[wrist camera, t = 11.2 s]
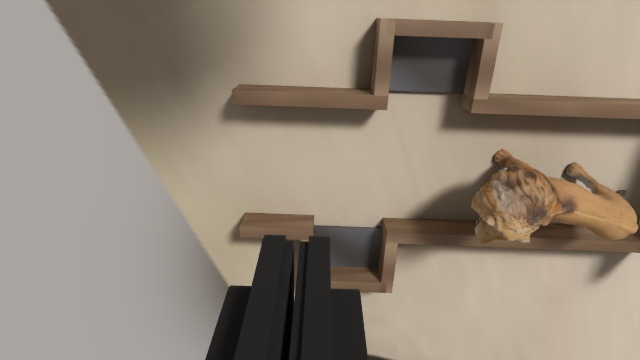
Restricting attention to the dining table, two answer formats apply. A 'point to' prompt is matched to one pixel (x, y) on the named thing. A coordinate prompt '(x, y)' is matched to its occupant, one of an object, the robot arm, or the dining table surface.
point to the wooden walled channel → (474, 83)
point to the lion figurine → (547, 203)
